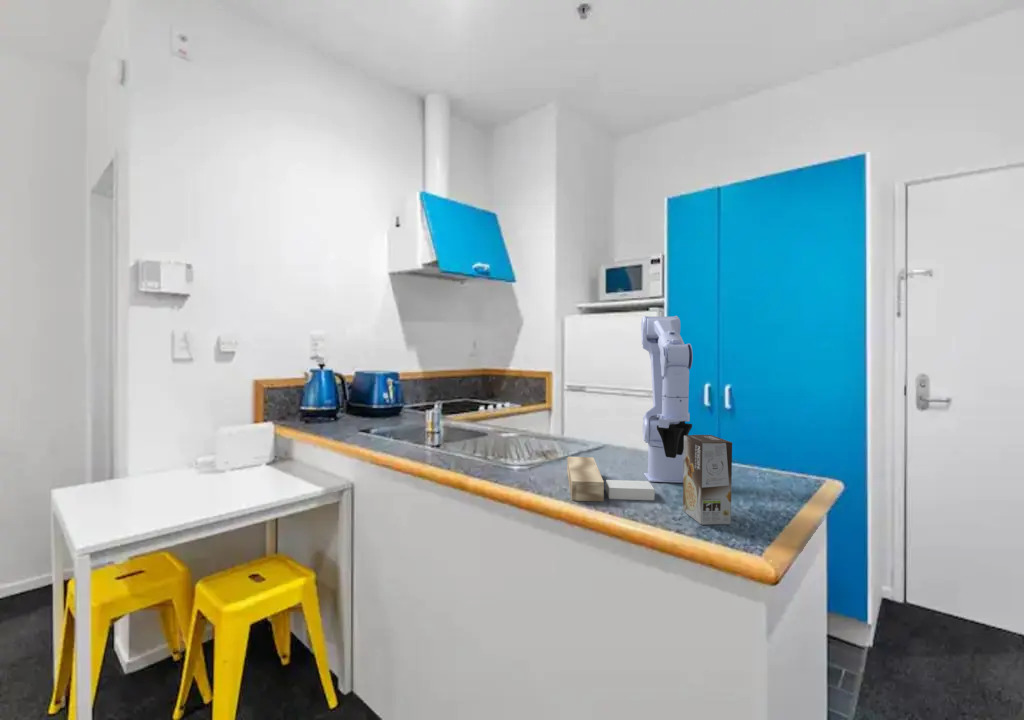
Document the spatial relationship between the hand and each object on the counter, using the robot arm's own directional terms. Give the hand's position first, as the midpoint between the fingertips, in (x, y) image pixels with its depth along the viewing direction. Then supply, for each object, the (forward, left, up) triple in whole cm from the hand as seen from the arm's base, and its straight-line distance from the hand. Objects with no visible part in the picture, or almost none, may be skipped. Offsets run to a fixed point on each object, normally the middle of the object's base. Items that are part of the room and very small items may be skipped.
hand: (674, 455), depth 116 cm
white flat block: (+10, 0, -9) cm, 14 cm away
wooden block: (+20, -7, -9) cm, 23 cm away
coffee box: (-3, +14, -10) cm, 17 cm away
